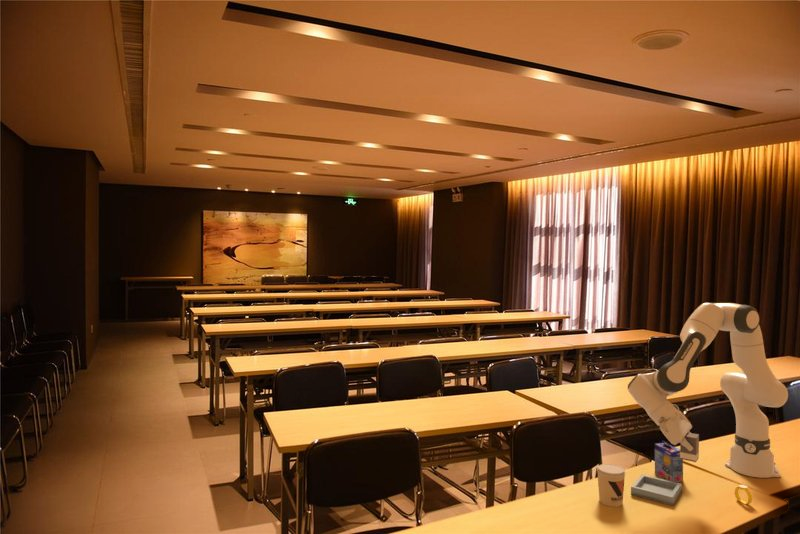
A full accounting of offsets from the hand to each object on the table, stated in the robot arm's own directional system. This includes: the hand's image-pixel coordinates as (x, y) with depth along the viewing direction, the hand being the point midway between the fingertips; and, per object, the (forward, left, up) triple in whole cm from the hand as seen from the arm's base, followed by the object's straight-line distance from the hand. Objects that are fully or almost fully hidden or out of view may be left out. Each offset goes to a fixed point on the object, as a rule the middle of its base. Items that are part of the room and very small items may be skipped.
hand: (693, 447), depth 192 cm
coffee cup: (+17, -23, -20) cm, 35 cm away
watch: (-11, +14, -20) cm, 27 cm away
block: (0, -1, -4) cm, 5 cm away
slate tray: (0, -12, -20) cm, 23 cm away
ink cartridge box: (-18, -12, -20) cm, 29 cm away
